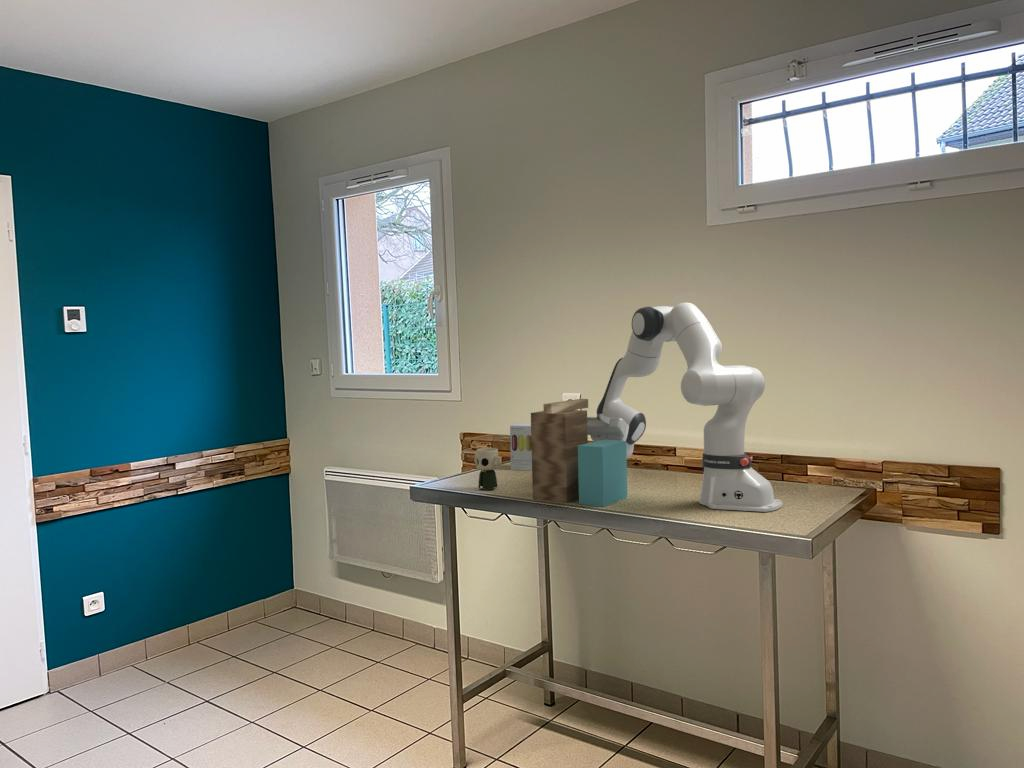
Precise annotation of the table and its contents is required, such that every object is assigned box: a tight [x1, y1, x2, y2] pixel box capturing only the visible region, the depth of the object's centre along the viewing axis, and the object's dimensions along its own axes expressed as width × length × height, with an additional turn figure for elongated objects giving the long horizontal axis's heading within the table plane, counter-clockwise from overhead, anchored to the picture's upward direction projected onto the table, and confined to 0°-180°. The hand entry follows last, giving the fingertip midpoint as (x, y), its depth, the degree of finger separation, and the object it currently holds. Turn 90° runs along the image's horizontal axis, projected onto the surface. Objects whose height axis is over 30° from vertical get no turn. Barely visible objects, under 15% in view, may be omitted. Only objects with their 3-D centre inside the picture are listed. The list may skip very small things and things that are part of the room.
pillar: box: [530, 409, 589, 504], centre depth 235 cm, size 12×13×26 cm
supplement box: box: [509, 422, 532, 471], centre depth 292 cm, size 10×9×17 cm
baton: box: [542, 398, 589, 414], centre depth 238 cm, size 3×22×3 cm, turn 145°
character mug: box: [474, 447, 501, 490], centre depth 251 cm, size 11×7×13 cm, turn 49°
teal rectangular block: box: [578, 440, 628, 508], centre depth 228 cm, size 8×15×17 cm, turn 145°
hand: (585, 415), depth 247 cm, fingers open, 8 cm apart
